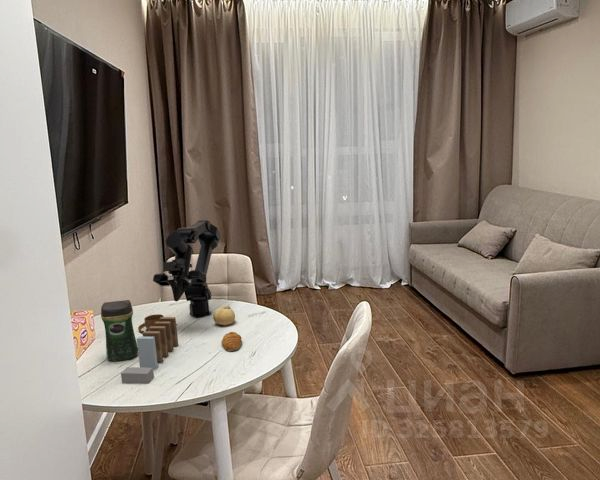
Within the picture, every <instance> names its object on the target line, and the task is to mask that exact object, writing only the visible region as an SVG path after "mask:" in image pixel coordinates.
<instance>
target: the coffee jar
mask: <svg viewBox="0 0 600 480" xmlns="http://www.w3.org/2000/svg"><path fill="white" fill-rule="evenodd" d="M133 314H134V309H133V305H132V302H131V300H130V299H126V300H114V301H107V302H106V301H105V302H103V303H102V305H101V308H100V318H101V321H102V322H103V325H104V332H105V351H106V358H107V360H108V361H110V362H115V361H123V360H124V361H125V360H130V359H133V358H135V357H136V356H137V355H138V346H137V337H136V335H135V331H134V326H133Z"/></svg>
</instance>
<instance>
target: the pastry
mask: <svg viewBox="0 0 600 480" xmlns="http://www.w3.org/2000/svg"><path fill="white" fill-rule="evenodd" d="M242 344H243V340H242V336H241V334H239V333H238V332H236V331H230V332H228V333H225V334H224V335H223V336H222V340H221V345H222V348H223V349H224V350H225V351H226V352H231V351H232V352H233V351H238V350H239V348H241V347H242Z"/></svg>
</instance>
